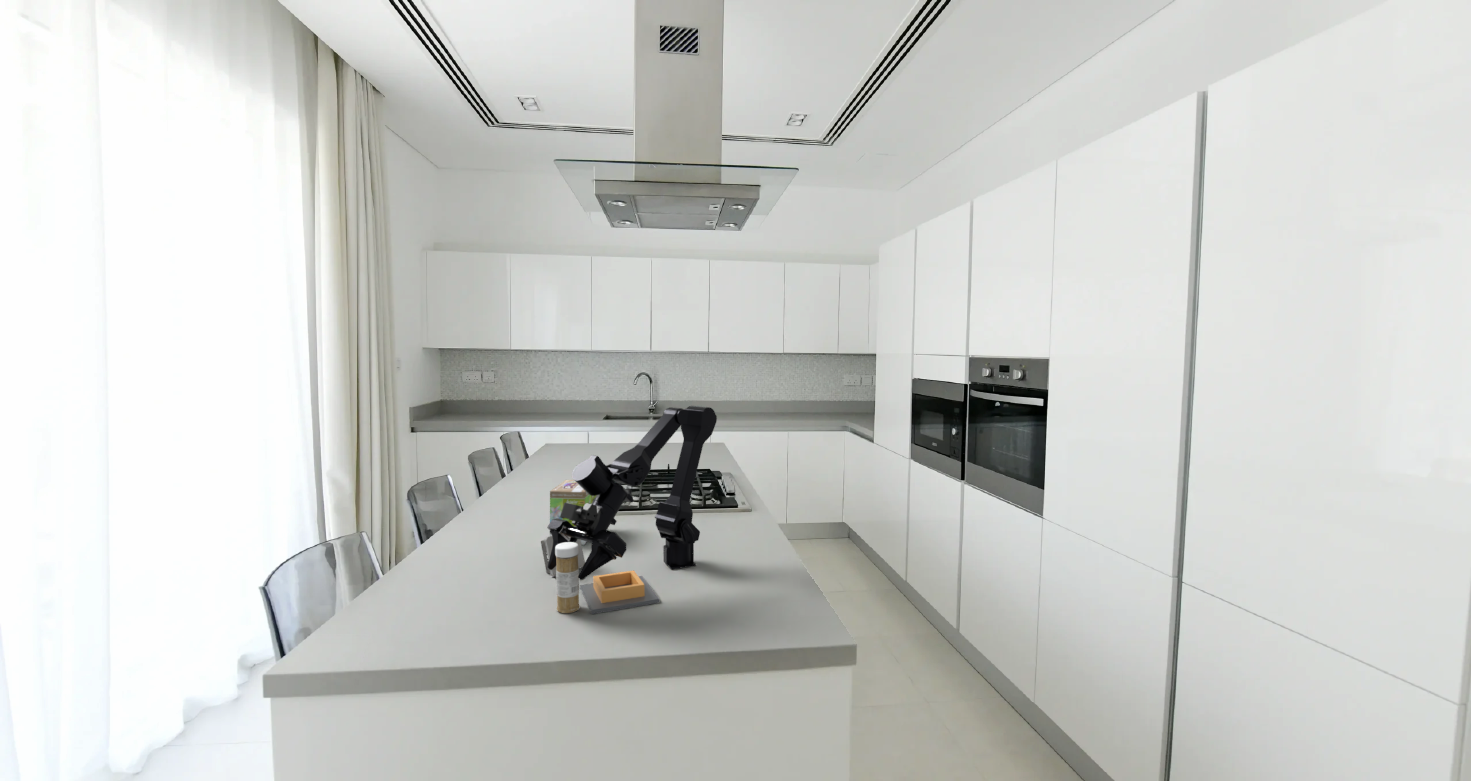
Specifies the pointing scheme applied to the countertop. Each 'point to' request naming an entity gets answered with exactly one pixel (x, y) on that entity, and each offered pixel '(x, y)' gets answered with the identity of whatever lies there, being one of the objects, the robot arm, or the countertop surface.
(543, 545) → the electrical switch
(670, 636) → the countertop surface
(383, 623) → the countertop surface
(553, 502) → the tea box
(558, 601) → the sprinkles bottle
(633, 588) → the socket
